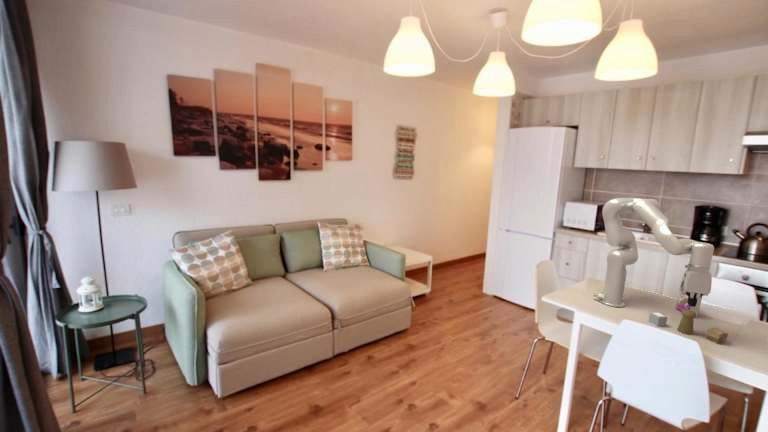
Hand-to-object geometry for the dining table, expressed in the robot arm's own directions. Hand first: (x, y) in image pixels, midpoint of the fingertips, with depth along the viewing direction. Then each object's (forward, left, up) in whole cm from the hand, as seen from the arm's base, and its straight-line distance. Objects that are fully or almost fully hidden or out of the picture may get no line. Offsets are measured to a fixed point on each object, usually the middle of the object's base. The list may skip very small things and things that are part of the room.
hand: (691, 305), depth 169 cm
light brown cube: (+10, -5, -14) cm, 18 cm away
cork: (0, 0, -14) cm, 14 cm away
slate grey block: (-10, +5, -14) cm, 18 cm away
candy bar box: (+12, +26, -14) cm, 32 cm away
